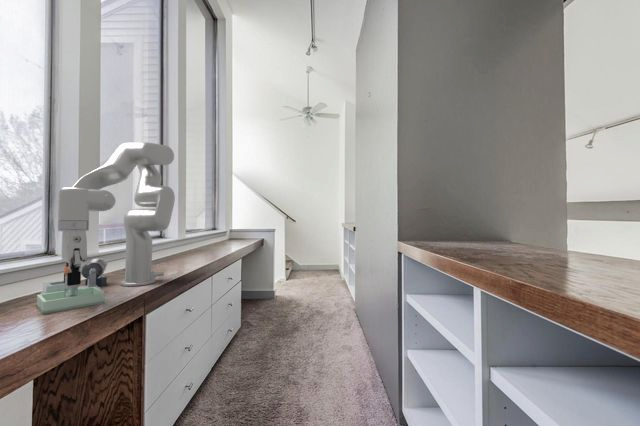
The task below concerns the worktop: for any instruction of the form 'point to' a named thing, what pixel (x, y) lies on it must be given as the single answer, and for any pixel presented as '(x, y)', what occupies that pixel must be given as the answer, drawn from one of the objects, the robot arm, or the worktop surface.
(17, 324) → the worktop surface
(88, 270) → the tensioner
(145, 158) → the robot arm
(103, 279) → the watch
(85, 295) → the tray
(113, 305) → the worktop surface
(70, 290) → the lock pin
